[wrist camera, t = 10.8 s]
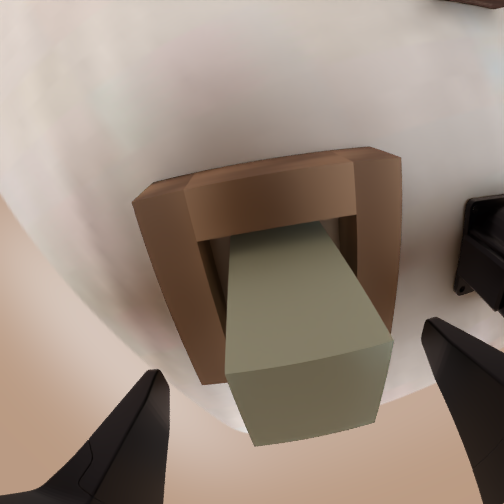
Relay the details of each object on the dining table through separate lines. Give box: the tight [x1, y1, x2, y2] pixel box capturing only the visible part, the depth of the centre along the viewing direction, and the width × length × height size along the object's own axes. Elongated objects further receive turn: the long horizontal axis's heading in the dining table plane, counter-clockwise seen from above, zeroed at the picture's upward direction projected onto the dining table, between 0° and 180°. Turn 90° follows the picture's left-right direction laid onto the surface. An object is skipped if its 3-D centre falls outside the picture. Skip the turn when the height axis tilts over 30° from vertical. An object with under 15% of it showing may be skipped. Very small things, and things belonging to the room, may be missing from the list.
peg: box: [225, 221, 394, 446], centre depth 11 cm, size 4×4×8 cm
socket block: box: [132, 147, 402, 385], centre depth 13 cm, size 10×10×3 cm
